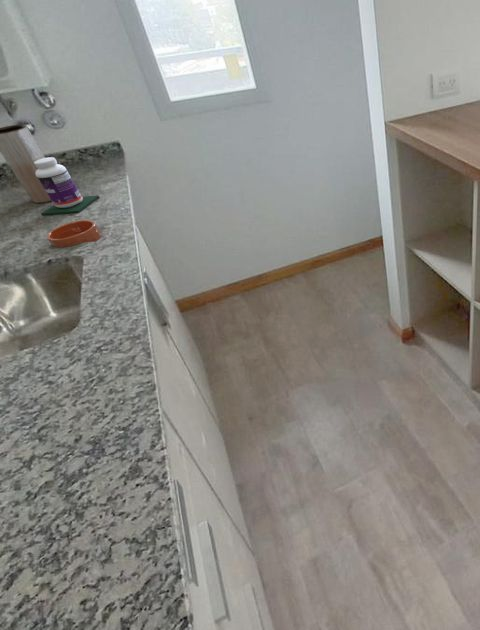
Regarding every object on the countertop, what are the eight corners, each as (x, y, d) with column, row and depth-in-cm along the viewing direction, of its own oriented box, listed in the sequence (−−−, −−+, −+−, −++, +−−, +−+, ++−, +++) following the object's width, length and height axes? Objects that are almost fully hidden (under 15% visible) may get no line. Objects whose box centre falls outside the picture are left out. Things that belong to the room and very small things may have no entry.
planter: (29, 205, 147) (-17, 135, 133) (36, 195, 155) (-7, 128, 141) (63, 198, 150) (21, 129, 136) (69, 189, 158) (29, 122, 143)
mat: (42, 215, 140) (40, 213, 139) (65, 200, 149) (64, 198, 149) (78, 213, 139) (77, 210, 139) (99, 197, 149) (98, 195, 148)
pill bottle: (52, 206, 143) (24, 162, 134) (77, 197, 148) (52, 154, 139) (62, 211, 139) (34, 166, 130) (88, 201, 144) (63, 157, 135)
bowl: (44, 253, 119) (36, 241, 117) (70, 232, 128) (64, 221, 126) (86, 249, 118) (79, 238, 116) (109, 229, 128) (103, 218, 126)
